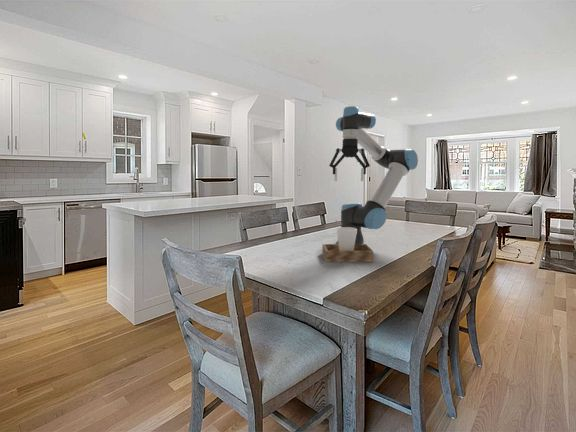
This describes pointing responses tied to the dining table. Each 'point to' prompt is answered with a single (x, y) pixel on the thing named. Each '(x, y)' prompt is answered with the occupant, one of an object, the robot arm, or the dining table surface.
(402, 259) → the dining table surface
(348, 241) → the foam cup
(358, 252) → the walnut box
